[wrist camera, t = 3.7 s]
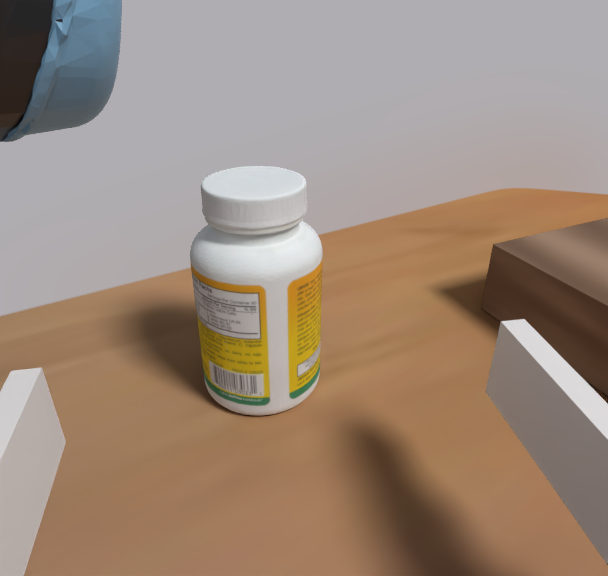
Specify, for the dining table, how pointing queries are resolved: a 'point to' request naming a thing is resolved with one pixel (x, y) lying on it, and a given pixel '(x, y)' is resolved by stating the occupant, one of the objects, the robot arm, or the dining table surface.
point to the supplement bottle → (257, 290)
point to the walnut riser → (557, 292)
